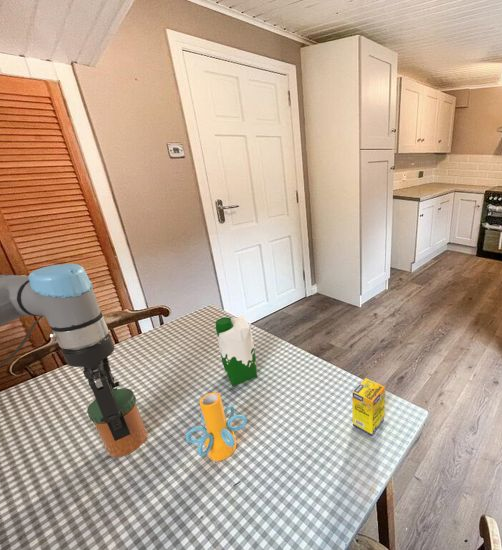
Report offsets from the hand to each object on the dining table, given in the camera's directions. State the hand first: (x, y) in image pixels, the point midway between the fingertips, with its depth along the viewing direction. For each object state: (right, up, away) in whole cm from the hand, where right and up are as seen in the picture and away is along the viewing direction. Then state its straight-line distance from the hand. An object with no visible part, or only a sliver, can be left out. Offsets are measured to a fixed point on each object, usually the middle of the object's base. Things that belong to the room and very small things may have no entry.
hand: (120, 424), depth 69 cm
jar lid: (0, +6, -2) cm, 6 cm away
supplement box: (+57, -3, +7) cm, 58 cm away
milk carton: (+18, +3, +24) cm, 30 cm away
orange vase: (+23, -6, 0) cm, 24 cm away
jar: (0, -5, +2) cm, 6 cm away
